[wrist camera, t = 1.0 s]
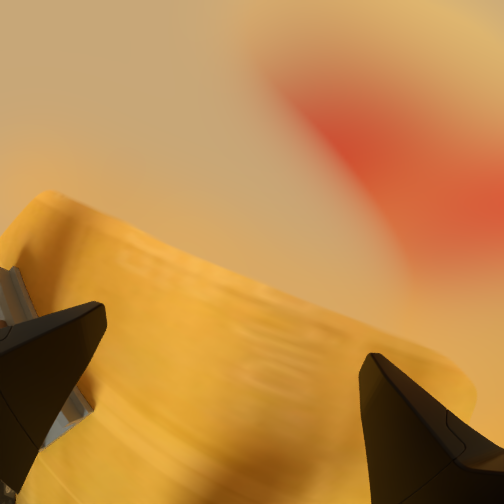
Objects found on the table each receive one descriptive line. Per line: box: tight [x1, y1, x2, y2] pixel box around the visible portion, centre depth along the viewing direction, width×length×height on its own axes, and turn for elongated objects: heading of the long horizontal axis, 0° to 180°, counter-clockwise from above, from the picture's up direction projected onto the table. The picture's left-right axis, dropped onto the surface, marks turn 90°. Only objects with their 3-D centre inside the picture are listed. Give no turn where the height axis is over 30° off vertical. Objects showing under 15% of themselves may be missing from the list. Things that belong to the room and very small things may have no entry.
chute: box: [0, 266, 93, 453], centre depth 19 cm, size 18×11×4 cm, turn 42°
